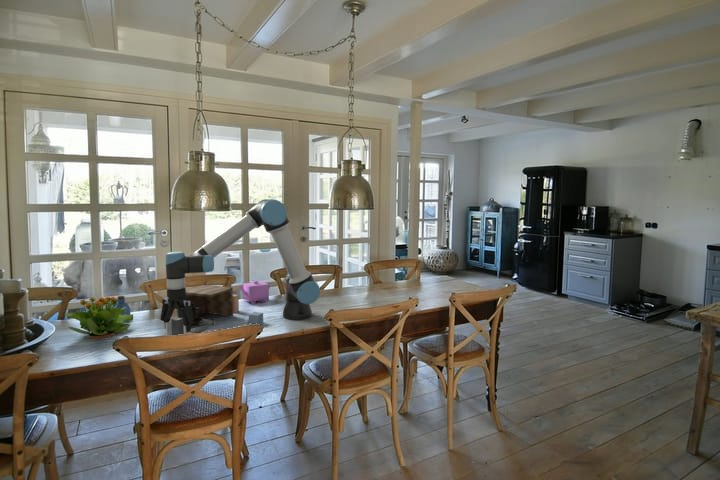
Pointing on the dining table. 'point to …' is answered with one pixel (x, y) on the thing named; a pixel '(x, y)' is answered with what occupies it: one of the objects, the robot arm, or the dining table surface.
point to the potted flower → (101, 318)
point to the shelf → (211, 299)
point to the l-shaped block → (235, 303)
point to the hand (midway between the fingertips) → (177, 337)
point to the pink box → (255, 291)
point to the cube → (256, 318)
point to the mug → (192, 311)
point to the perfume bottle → (122, 305)
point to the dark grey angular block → (204, 324)
